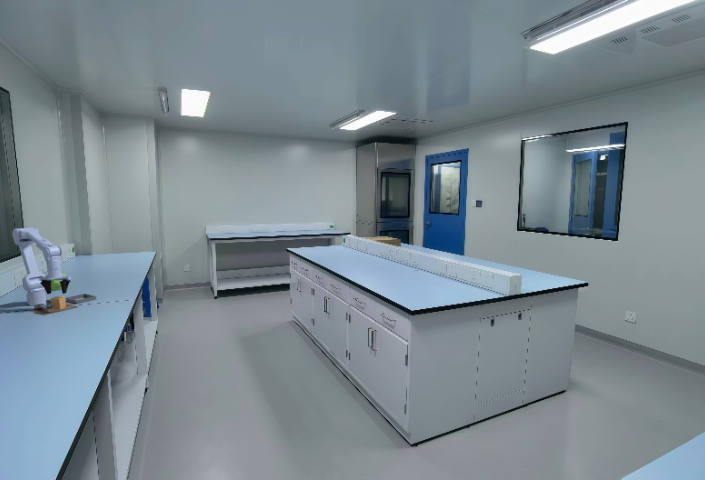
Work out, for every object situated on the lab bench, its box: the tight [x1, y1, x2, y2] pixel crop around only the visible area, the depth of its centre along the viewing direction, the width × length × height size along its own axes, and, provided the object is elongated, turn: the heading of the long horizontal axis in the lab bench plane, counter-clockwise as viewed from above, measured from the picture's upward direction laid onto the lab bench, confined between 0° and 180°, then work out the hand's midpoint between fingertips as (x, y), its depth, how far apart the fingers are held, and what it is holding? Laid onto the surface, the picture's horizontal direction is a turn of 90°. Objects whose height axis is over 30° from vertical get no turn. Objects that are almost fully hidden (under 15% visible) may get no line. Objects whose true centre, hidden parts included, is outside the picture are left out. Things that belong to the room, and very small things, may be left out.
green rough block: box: [45, 273, 70, 291], centre depth 241 cm, size 18×10×10 cm, turn 73°
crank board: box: [27, 302, 79, 316], centre depth 197 cm, size 18×16×1 cm
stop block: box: [49, 295, 66, 310], centre depth 197 cm, size 4×4×6 cm
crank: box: [33, 299, 53, 311], centre depth 193 cm, size 16×4×6 cm, turn 61°
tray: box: [65, 293, 97, 305], centre depth 212 cm, size 12×10×3 cm
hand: (56, 293), depth 196 cm, fingers open, 7 cm apart
